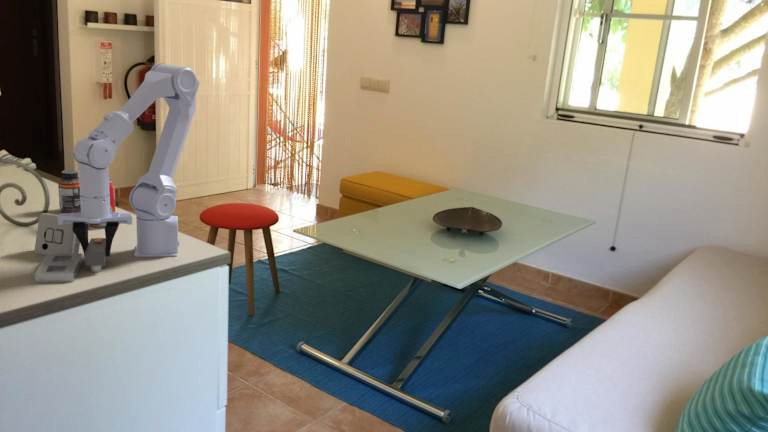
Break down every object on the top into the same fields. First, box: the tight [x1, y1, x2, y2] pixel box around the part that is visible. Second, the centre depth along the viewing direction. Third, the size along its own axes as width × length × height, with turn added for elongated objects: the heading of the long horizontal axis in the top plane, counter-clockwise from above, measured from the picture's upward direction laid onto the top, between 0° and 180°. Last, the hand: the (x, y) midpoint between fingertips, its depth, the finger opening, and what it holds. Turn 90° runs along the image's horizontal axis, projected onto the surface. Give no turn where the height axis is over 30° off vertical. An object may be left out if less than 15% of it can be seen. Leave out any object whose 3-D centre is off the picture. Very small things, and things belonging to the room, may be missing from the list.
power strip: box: [84, 237, 107, 273], centre depth 137 cm, size 4×9×5 cm, turn 17°
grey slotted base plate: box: [34, 253, 84, 284], centre depth 133 cm, size 7×12×2 cm, turn 17°
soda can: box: [88, 178, 116, 229], centre depth 164 cm, size 7×7×12 cm
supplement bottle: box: [57, 169, 81, 214], centre depth 173 cm, size 6×6×11 cm
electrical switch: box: [34, 212, 81, 256], centre depth 142 cm, size 9×5×9 cm, turn 78°
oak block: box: [89, 260, 107, 269], centre depth 137 cm, size 3×3×2 cm
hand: (97, 255), depth 137 cm, fingers closed on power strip, 4 cm apart
